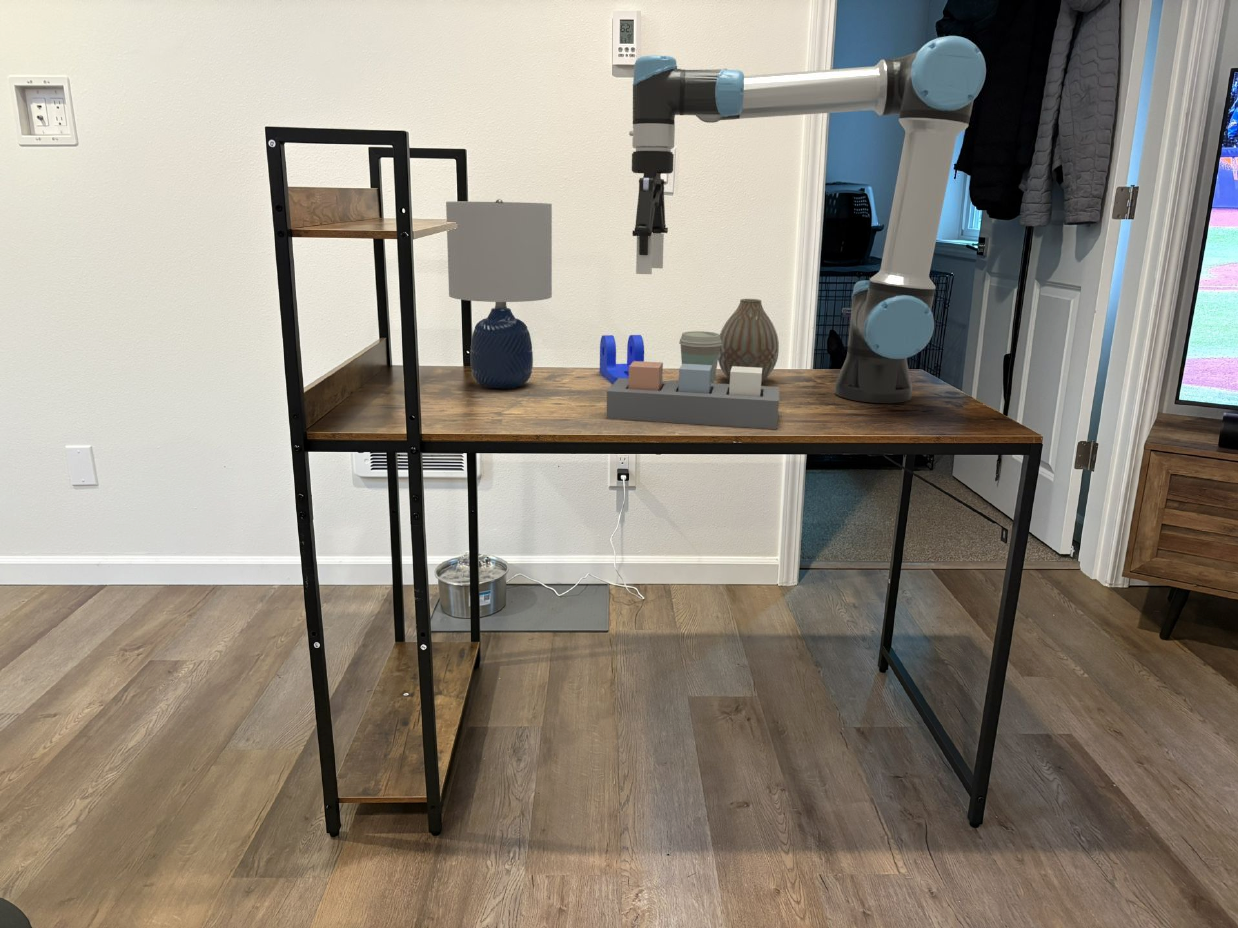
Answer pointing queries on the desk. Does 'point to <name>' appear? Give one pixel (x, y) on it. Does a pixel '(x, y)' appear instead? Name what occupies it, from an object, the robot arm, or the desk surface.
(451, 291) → the lamp
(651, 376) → the terracotta key
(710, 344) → the coffee cup
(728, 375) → the vase
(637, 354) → the bracket
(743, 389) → the white key
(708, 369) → the slate key
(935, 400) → the desk surface
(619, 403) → the grey socket block
